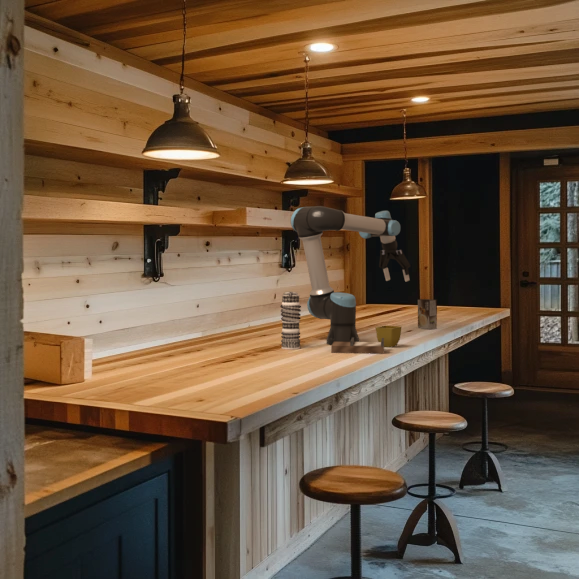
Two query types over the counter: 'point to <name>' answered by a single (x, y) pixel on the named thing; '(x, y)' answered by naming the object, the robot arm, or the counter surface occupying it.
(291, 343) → the decorative candle
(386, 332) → the flower pot
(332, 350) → the dock
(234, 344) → the counter surface
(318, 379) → the counter surface
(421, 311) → the coffee box
